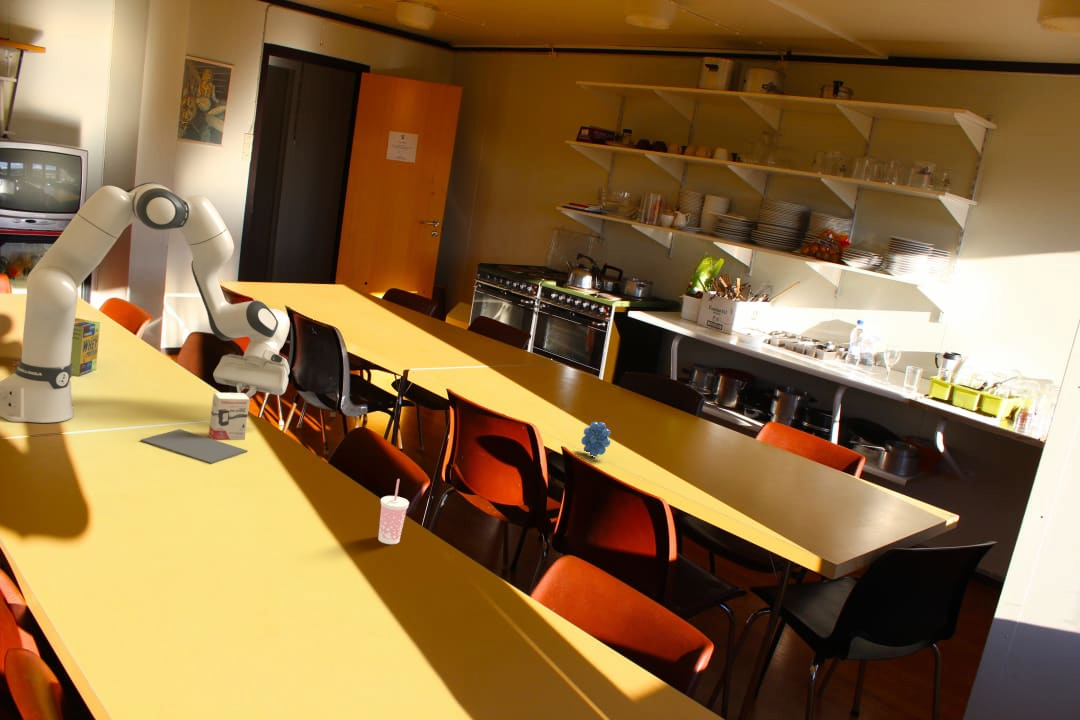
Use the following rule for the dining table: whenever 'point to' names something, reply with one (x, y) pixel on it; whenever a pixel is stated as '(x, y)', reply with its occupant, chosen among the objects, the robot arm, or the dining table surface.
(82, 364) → the protein box
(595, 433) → the grapes
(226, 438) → the ink box
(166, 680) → the dining table surface
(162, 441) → the mat
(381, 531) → the beverage cup
